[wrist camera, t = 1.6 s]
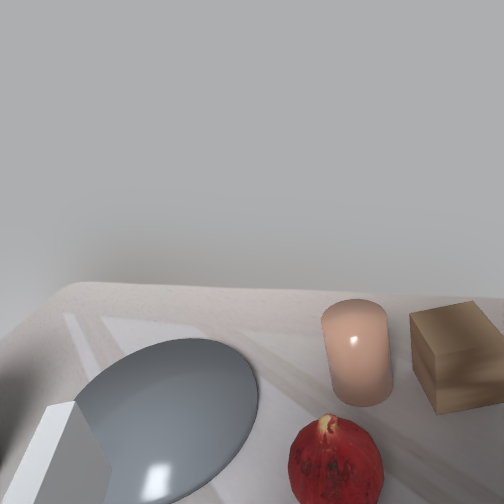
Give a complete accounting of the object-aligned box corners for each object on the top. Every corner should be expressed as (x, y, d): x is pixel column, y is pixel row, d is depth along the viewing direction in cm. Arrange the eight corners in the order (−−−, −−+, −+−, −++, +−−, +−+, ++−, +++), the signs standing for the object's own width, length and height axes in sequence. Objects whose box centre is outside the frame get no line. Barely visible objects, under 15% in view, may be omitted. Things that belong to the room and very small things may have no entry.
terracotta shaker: (382, 358, 40) (375, 294, 37) (401, 400, 36) (395, 331, 32) (327, 368, 40) (316, 306, 37) (339, 411, 36) (327, 345, 33)
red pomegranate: (392, 554, 26) (381, 467, 22) (295, 549, 28) (270, 466, 24) (383, 465, 31) (373, 381, 27) (301, 464, 33) (281, 384, 29)
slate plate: (253, 331, 47) (251, 324, 47) (265, 489, 31) (262, 481, 31) (90, 364, 48) (87, 357, 48) (23, 534, 32) (16, 526, 32)
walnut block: (471, 358, 38) (472, 300, 35) (503, 403, 33) (507, 341, 31) (412, 369, 38) (409, 313, 35) (437, 415, 34) (435, 355, 31)
